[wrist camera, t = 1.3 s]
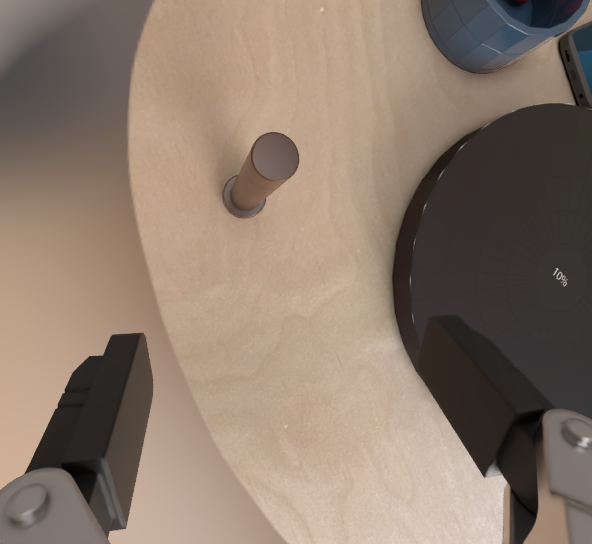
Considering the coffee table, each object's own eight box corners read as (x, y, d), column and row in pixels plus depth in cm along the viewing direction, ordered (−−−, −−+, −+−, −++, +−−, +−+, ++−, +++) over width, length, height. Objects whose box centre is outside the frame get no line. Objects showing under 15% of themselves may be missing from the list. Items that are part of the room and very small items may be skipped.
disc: (688, 222, 41) (726, 220, 38) (571, 476, 38) (601, 494, 35) (490, 47, 33) (518, 27, 31) (330, 346, 31) (344, 356, 28)
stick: (221, 215, 28) (236, 188, 16) (224, 173, 28) (242, 114, 16) (262, 220, 29) (307, 197, 17) (266, 179, 29) (313, 127, 17)
